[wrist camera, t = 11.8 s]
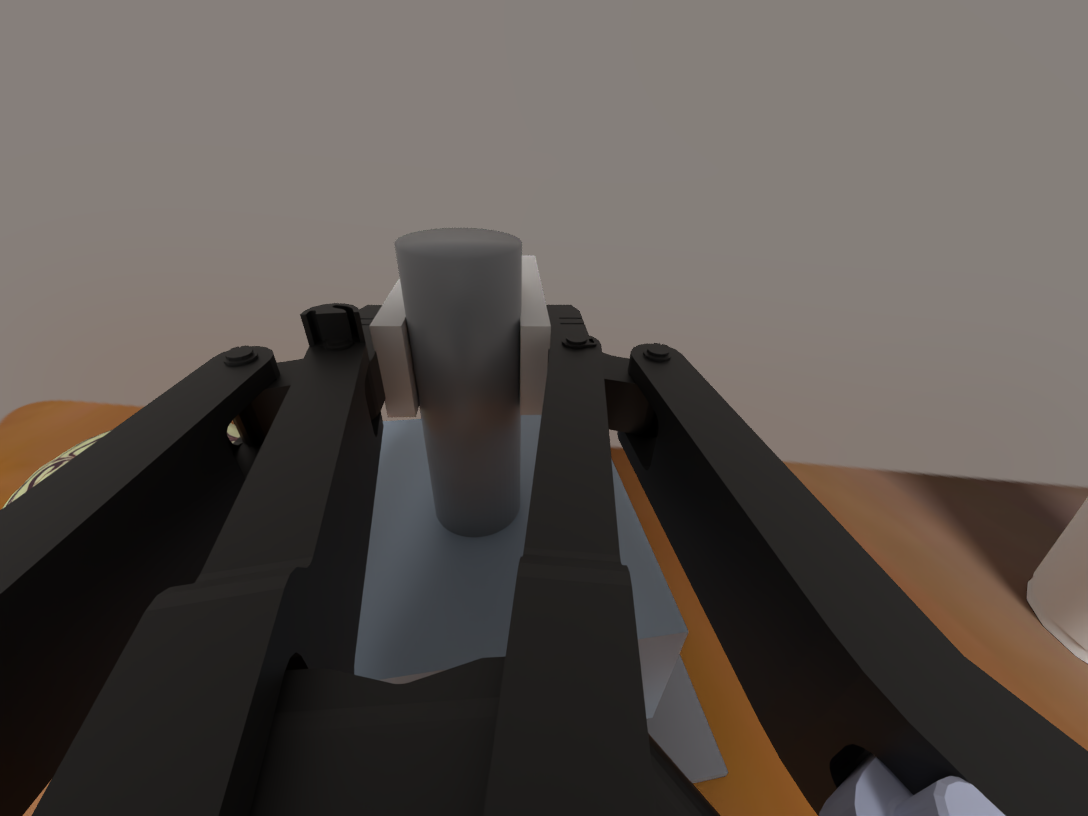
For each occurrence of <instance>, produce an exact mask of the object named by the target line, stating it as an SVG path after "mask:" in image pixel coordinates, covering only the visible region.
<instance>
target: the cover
mask: <svg viewBox="0 0 1088 816" xmlns="http://www.w3.org/2000/svg"><path fill="white" fill-rule="evenodd" d="M395 250H396V256H397V263H398V269H399V276H400V283H401V289H402V296H403V302H404V309H405V315H406V321H407V328H408V334H409V341H410V347H411V354H412V360H413V367H414V373H415V380H416V386H417V393H418V399H419V406H420V413H421V419H413V420H398V421H383V425H384V427H383V435H382V443H381V451H380V459H379V467H378V475H377V484H376V492H375V500H374V508H373V516H372V524H371V532H370V540H369V548H368V556H367V564H366V572H365V580H364V588H363V596H362V604H361V612H360V621H359V629H358V637H357V645H356V653H355V664H354V675H358V676H362V677H367V678H371V679H375V680H380V681H384V682H389V683H393V684H405V683H409V682H412V681H415V680H418V679H421V678H424V677H427V676H430V675H433V674H436V673H439V672H442V671H445V670H448V669H451V668H454V667H456V666H459V665H462V664H465V663H468V662H471V661H474V660H477V659H480V658H488V657H504V656H506V650H507V642H508V635H509V628H510V621H511V614H512V607H513V599H514V592H515V585H516V578H517V571H518V565H519V560H520V557H522V556H523V551H524V544H525V537H526V529H527V522H528V514H529V506H530V499H531V491H532V484H533V476H534V468H535V461H536V453H537V446H538V438H539V430H540V423H541V415H520V316H521V307H522V242H521V240H520V239H519V238H517V237H515V236H513V235H510V234H507V233H504V232H499V231H493V230H486V229H476V228H442V229H431V230H424V231H418V232H414V233H410V234H407V235H404V236H402V237H400V238H398V239H397V240H396V241H395ZM611 460H612V459H611ZM612 472H613V483H614V494H615V505H616V516H617V527H618V539H619V550H620V559H621V564H622V565H627V567H628V569H629V572H630V577H631V583H632V591H633V600H634V609H635V618H636V627H637V636H638V646H639V655H640V664H641V673H642V682H643V691H644V700H645V710H646V719H648V718H653V715H654V713H655V710H656V708H657V706H658V703H659V701H660V698H661V696H662V694H663V691H664V689H665V687H666V684H667V682H668V679H669V677H670V675H671V672H672V670H673V668H674V665H675V663H676V660H677V658H678V656H679V653H680V651H681V648H682V646H683V644H684V641H685V639H686V637H687V634H688V629H687V627H686V625H685V623H684V620H683V618H682V616H681V614H680V611H679V609H678V607H677V605H676V602H675V600H674V598H673V596H672V593H671V591H670V589H669V587H668V584H667V582H666V580H665V578H664V575H663V573H662V571H661V569H660V567H659V564H658V562H657V560H656V558H655V555H654V553H653V551H652V549H651V546H650V544H649V542H648V540H647V537H646V535H645V533H644V531H643V528H642V526H641V524H640V522H639V519H638V517H637V515H636V513H635V510H634V508H633V506H632V504H631V502H630V499H629V497H628V495H627V493H626V490H625V488H624V486H623V484H622V481H621V479H620V477H619V475H618V472H617V470H616V468H615V466H614V463H613V461H612Z"/></svg>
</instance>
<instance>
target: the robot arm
mask: <svg viewBox="0 0 1088 816" xmlns="http://www.w3.org/2000/svg"><path fill="white" fill-rule="evenodd" d="M300 316H301V319H302V322H303V326H304V329H305V333H306V336H307V339H308V343H309V348H308V350H307V352H306V355H305V357H304V359H299V360H293V361H287V362H279V363H276V360H275V358H274V354H273V351H272V350H270V349H268V348H266V347H260V346H252V347H251V346H250V347H249V346H241V347H240V348H239V347H236V348H232V349H231V350H229V351H226V352H223V353H221V354H219V355H217V356H215V357H213V358H212V359H211V360H209V361H208V362H206V363H205V364H204V365H202V366H201V367H199V368H198V369H197V370H195V371H194V372H192V373H191V374H190V375H188V376H187V377H185V378H184V379H183V380H181V381H180V382H178V383H177V384H176V385H174V386H173V387H172V388H170V389H169V390H167V391H166V392H165V393H163V394H162V395H161V396H159V397H158V398H156V399H155V400H153V401H152V402H151V403H149V404H148V405H147V406H145V407H144V408H142V409H141V410H139V411H138V412H137V413H135V414H134V415H132V416H131V417H130V418H128V419H127V420H126V421H124V422H123V423H121V424H120V425H119V426H117V427H116V428H114V429H113V430H112V431H110V432H109V433H107V434H106V435H105V436H103V437H102V438H100V439H99V440H98V441H96V442H95V443H93V444H92V445H91V446H89V447H88V448H87V449H85V450H84V451H82V452H81V453H80V454H78V455H77V456H75V457H74V458H73V459H71V460H70V461H68V462H67V463H66V464H64V465H63V466H61V467H60V468H59V469H57V470H56V471H54V472H53V473H52V474H50V475H49V476H47V477H46V478H45V479H43V480H42V481H41V482H39V483H38V484H36V485H35V486H34V487H32V488H31V489H29V490H28V491H27V492H25V493H24V494H22V495H21V496H20V497H18V498H17V499H15V500H14V501H13V502H11V503H10V504H8V505H7V506H6V507H4V508H3V509H1V510H0V816H22V815H23V814H24V813H25V812H26V810H27V809H28V808H29V807H30V805H31V804H32V803H33V802H34V800H35V799H36V798H37V797H38V795H39V794H40V793H41V792H42V790H43V789H44V788H45V787H46V785H47V784H48V783H49V782H50V780H51V779H52V780H51V782H50V783H49V785H48V787H47V789H46V791H45V792H44V794H43V796H42V798H41V800H40V801H39V803H38V805H37V807H36V809H35V810H34V812H33V814H32V816H720V815H719V813H718V812H717V811H716V810H715V809H714V808H713V807H712V805H711V804H710V803H709V802H708V801H707V800H706V799H705V797H704V796H703V795H702V794H701V793H700V792H699V791H698V789H697V788H696V787H695V786H694V785H693V784H692V782H691V781H690V780H689V779H688V778H687V777H686V776H685V774H684V773H683V772H682V771H681V770H680V769H679V768H678V766H677V765H676V764H675V763H674V762H673V761H672V760H671V758H670V757H669V756H668V755H667V754H666V753H665V752H664V750H663V749H662V748H661V747H660V746H659V745H658V744H657V742H656V741H655V740H654V739H653V738H652V737H651V736H650V734H649V733H648V728H647V719H646V710H645V700H644V691H643V682H642V673H641V664H640V655H639V646H638V636H637V627H636V618H635V609H634V600H633V591H632V583H631V577H630V572H629V569H628V567H627V565H622V564H621V559H620V550H619V539H618V527H617V516H616V505H615V494H614V483H613V472H612V460H611V449H610V438H609V429H610V430H616V431H618V433H617V434H618V439H619V441H620V443H621V445H622V447H623V449H624V451H625V453H626V455H627V457H628V459H629V461H630V463H631V465H632V467H633V469H634V471H635V473H636V475H637V477H638V479H639V481H640V483H641V485H642V487H643V489H644V491H645V493H646V495H647V497H648V499H649V501H650V503H651V505H652V507H653V509H654V511H655V513H656V515H657V517H658V519H659V521H660V523H661V525H662V527H663V529H664V531H665V533H666V535H667V537H668V539H669V541H670V543H671V545H672V547H673V549H674V551H675V553H676V555H677V557H678V559H679V561H680V563H681V565H682V567H683V569H684V571H685V573H686V575H687V577H688V579H689V581H690V583H691V585H692V587H693V589H694V591H695V593H696V595H697V597H698V599H699V601H700V603H701V605H702V607H703V609H704V611H705V613H706V615H707V617H708V619H709V621H710V623H711V625H712V627H713V629H714V631H715V633H716V635H717V637H718V639H719V641H720V643H721V645H722V647H723V649H724V651H725V653H726V655H727V657H728V659H729V661H730V663H731V665H732V667H733V669H734V671H735V673H736V675H737V677H738V679H739V681H740V683H741V685H742V687H743V689H744V691H745V693H746V695H747V697H748V699H749V701H750V703H751V705H752V707H753V709H754V711H755V713H756V715H757V717H758V719H759V721H760V723H761V725H762V727H763V728H764V730H765V732H766V734H767V736H768V738H769V739H770V741H771V743H772V745H773V747H774V748H775V750H776V752H777V754H778V756H779V758H780V759H781V761H782V763H783V764H784V766H785V767H786V769H787V770H788V772H789V773H790V775H791V776H792V778H793V779H794V781H795V782H796V784H797V786H798V787H799V789H800V790H801V792H802V793H803V795H804V796H805V798H806V799H807V801H808V802H809V804H810V805H811V807H812V808H813V809H814V811H815V812H816V813H817V815H818V816H1088V751H1087V750H1085V749H1084V748H1083V747H1081V746H1080V745H1079V744H1078V743H1076V742H1075V741H1074V740H1072V739H1071V738H1070V737H1068V736H1067V735H1066V734H1064V733H1063V732H1062V731H1061V730H1059V729H1058V728H1057V727H1055V726H1054V725H1053V724H1051V723H1050V722H1049V721H1048V720H1046V719H1045V718H1044V717H1042V716H1041V715H1040V714H1038V713H1037V712H1036V711H1035V710H1033V709H1032V708H1031V707H1029V706H1028V705H1027V704H1025V703H1024V702H1023V701H1022V700H1020V699H1019V698H1018V697H1016V696H1015V695H1014V694H1012V693H1011V692H1010V691H1009V690H1007V689H1006V688H1005V687H1003V686H1002V685H1001V684H999V683H998V682H997V681H996V680H994V679H993V678H992V677H990V676H989V675H988V674H986V673H985V672H984V671H983V670H981V669H980V668H979V667H977V666H976V665H975V664H973V663H972V662H971V661H970V660H968V659H967V658H966V657H964V656H963V655H962V654H961V653H960V652H959V650H958V649H957V648H956V647H955V646H954V645H953V644H952V643H951V642H950V641H949V640H948V639H947V638H946V637H945V635H944V634H943V633H942V632H941V631H940V630H939V629H938V628H937V627H936V626H935V625H934V624H933V623H932V622H931V621H930V619H929V618H928V617H927V616H926V615H925V614H924V613H923V612H922V611H921V610H920V609H919V608H918V607H917V606H916V604H915V603H914V602H913V601H912V600H911V599H910V598H909V597H908V596H907V595H906V594H905V593H904V592H903V591H902V589H901V588H900V587H899V586H898V585H897V584H896V583H895V582H894V581H893V580H892V579H891V578H890V577H889V576H888V574H887V573H886V572H885V571H884V570H883V569H882V568H881V567H880V566H879V565H878V564H877V563H876V562H875V561H874V560H873V558H872V557H871V556H870V555H869V554H868V553H867V552H866V551H865V550H864V549H863V548H862V547H861V546H860V545H859V543H858V542H857V541H856V540H855V539H854V538H853V537H852V536H851V535H850V534H849V533H848V532H847V531H846V530H845V528H844V527H843V526H842V525H841V524H840V523H839V522H838V521H837V520H836V519H835V518H834V517H833V516H832V515H831V513H830V512H829V511H828V510H827V509H826V508H825V507H824V506H823V505H822V504H821V503H820V502H819V501H818V500H817V499H816V497H815V496H814V495H813V494H812V493H811V492H810V491H809V490H808V489H807V488H806V487H805V486H804V485H803V484H802V482H801V481H800V480H799V479H798V478H797V477H796V476H795V475H794V474H793V473H792V472H791V471H790V470H789V469H788V467H787V466H786V465H785V464H784V463H783V462H782V461H781V460H780V459H779V458H778V457H777V456H776V455H775V454H774V453H773V451H772V450H771V449H770V448H769V447H768V446H767V445H766V444H765V443H764V442H763V441H762V440H761V439H760V438H759V436H758V435H757V434H756V433H755V432H754V431H753V430H752V429H751V428H750V427H749V426H748V425H747V424H746V423H745V421H744V420H743V419H742V418H741V417H740V416H739V415H738V414H737V413H736V412H735V411H734V410H733V409H732V408H731V407H730V406H729V404H728V403H727V402H726V401H725V400H724V399H723V398H722V397H721V396H720V395H719V394H718V393H717V391H716V390H715V389H714V388H713V387H712V386H711V385H710V384H709V383H708V382H707V381H706V380H705V379H704V378H703V376H702V375H701V374H700V373H699V372H698V371H697V370H696V369H695V368H694V367H693V366H692V365H691V364H690V363H689V362H688V361H687V359H686V358H685V357H684V356H683V355H682V354H681V353H679V352H678V351H677V350H675V349H673V348H670V347H668V346H667V345H663V344H662V345H660V344H657V343H654V344H643V345H638V346H636V347H634V348H633V349H632V351H631V354H630V359H628V358H621V357H616V356H611V355H608V354H605V353H603V352H602V349H601V344H600V342H599V341H598V340H597V339H596V338H594V337H592V336H589V335H588V332H587V330H586V327H585V325H584V322H583V319H582V316H581V314H580V311H579V310H577V309H576V308H575V307H573V306H572V305H546V302H545V298H544V294H543V289H542V285H541V280H540V275H539V271H538V266H537V262H536V258H535V256H524V255H522V307H521V316H520V415H541V423H540V430H539V438H538V446H537V453H536V461H535V468H534V476H533V484H532V491H531V499H530V506H529V514H528V522H527V529H526V537H525V544H524V551H523V556H522V557H520V560H519V565H518V571H517V578H516V585H515V592H514V599H513V607H512V614H511V621H510V628H509V635H508V642H507V650H506V656H504V657H488V658H480V659H477V660H474V661H471V662H468V663H465V664H462V665H459V666H456V667H454V668H451V669H448V670H445V671H442V672H439V673H436V674H433V675H430V676H427V677H424V678H421V679H418V680H415V681H412V682H409V683H405V684H393V683H389V682H384V681H380V680H375V679H371V678H367V677H362V676H358V675H354V664H355V653H356V645H357V637H358V629H359V621H360V612H361V604H362V596H363V588H364V580H365V572H366V564H367V556H368V548H369V540H370V532H371V524H372V516H373V508H374V500H375V492H376V484H377V475H378V467H379V459H380V451H381V443H382V435H383V427H384V425H383V420H382V416H381V408H382V406H383V403H384V401H385V405H386V409H387V415H388V417H416V414H417V411H418V407H419V399H418V393H417V386H416V380H415V373H414V367H413V360H412V354H411V347H410V341H409V334H408V328H407V321H406V315H405V309H404V302H403V296H402V289H401V283H400V278H399V280H398V281H397V283H396V284H395V286H394V288H393V289H392V291H391V292H390V294H389V296H388V297H387V299H386V300H385V302H384V303H383V305H367V306H365V307H363V308H361V309H359V310H358V308H357V307H355V306H353V305H349V304H339V303H334V304H325V305H320V306H316V307H312V308H310V309H307V310H305V311H304V312H303V313H302V314H300ZM232 420H233V422H234V424H235V426H236V428H237V430H238V433H239V435H240V437H239V438H238V439H237V440H236V441H235V442H233V443H232V442H231V441H230V440H229V438H228V435H227V430H228V426H229V425H230V423H231V421H232Z"/></svg>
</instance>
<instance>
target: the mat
mask: <svg viewBox="0 0 1088 816" xmlns="http://www.w3.org/2000/svg"><path fill="white" fill-rule="evenodd" d="M647 728H648V733H649V734H650V736H651V737H652V738H653V739H654V740H655V741H656V742H657V744H658V745H659V746H660V747H661V748H662V749H663V750H664V752H665V753H666V754H667V755H668V756H669V757H670V758H671V760H672V761H673V762H674V763H675V764H676V765H677V766H678V768H679V769H680V770H681V771H682V772H683V773H684V774H685V776H686V777H687V778H688V779H689V780H690V781H691V782H692V783H697V782H702V781H706V780H711V779H716V778H720V777H725V776H726V775H727V774H728V771H727V768H726V766H725V763H724V761H723V758H722V756H721V753H720V751H719V749H718V746H717V744H716V741H715V739H714V736H713V734H712V732H711V729H710V727H709V724H708V722H707V719H706V717H705V715H704V712H703V710H702V707H701V705H700V702H699V700H698V698H697V695H696V693H695V690H694V688H693V685H692V683H691V680H690V678H689V676H688V673H687V671H686V668H685V666H684V663H683V661H682V659H681V656H680V654H679V656H678V658H677V660H676V663H675V665H674V668H673V670H672V672H671V675H670V677H669V679H668V682H667V684H666V687H665V689H664V691H663V694H662V696H661V698H660V701H659V703H658V706H657V708H656V710H655V713H654V715H653V718H648V719H647Z"/></svg>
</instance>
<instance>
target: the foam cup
mask: <svg viewBox="0 0 1088 816" xmlns="http://www.w3.org/2000/svg"><path fill="white" fill-rule="evenodd" d="M1027 601H1028V603H1029V604H1030V606H1031V607H1032V609H1033V611H1034V612H1035V614H1036V615H1037V617H1038V619H1039V620H1040V622H1041V623H1042V625H1043V626H1044V627H1045V628H1046V629H1047V630H1048V631H1049V632H1050V633H1051V634H1053V635H1054V636H1055V637H1056V638H1057V639H1058V640H1059V641H1060V642H1061V643H1062V644H1063V645H1064V646H1066V647H1067V648H1068V649H1069V650H1070V651H1071V652H1072V653H1073V654H1074V655H1075V656H1076V657H1078V658H1080V659H1081V660H1083V661H1084V662H1086V663H1087V664H1088V497H1087V499H1086V500H1085V502H1084V503H1083V504H1082V506H1081V507H1080V509H1079V510H1078V511H1077V513H1076V514H1075V516H1074V517H1073V518H1072V520H1071V521H1070V523H1069V524H1068V525H1067V527H1066V528H1065V530H1064V531H1063V532H1062V534H1061V535H1060V537H1059V538H1058V539H1057V541H1056V542H1055V544H1054V545H1053V546H1052V548H1051V549H1050V551H1049V552H1048V553H1047V555H1046V556H1045V558H1044V559H1043V560H1042V562H1041V563H1040V565H1039V566H1038V567H1037V569H1036V570H1035V572H1034V574H1033V578H1032V579H1031V580H1029V581H1028V585H1027Z"/></svg>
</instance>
